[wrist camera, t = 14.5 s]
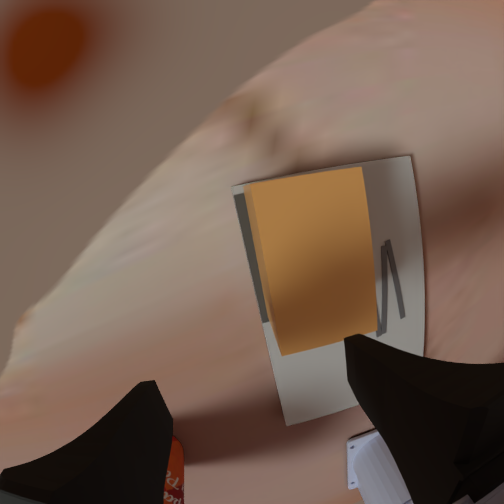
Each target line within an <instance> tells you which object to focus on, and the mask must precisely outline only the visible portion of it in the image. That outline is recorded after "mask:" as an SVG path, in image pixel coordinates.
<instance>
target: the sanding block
mask: <svg viewBox="0 0 504 504" xmlns="http://www.w3.org/2000/svg"><path fill="white" fill-rule="evenodd" d="M243 190H244V195H245V200H246V205H247V210H248V215H249V221H250V226H251V231H252V236H253V242H254V247H255V252H256V257H257V262H258V268H259V273H260V278H261V283H262V289H263V294H264V299H265V304H266V310H267V315H268V318H269V321H270V324H271V327H272V330H273V333H274V336H275V339H276V341H277V344H278V347H279V350H280V353H281V356H286V355H290V354H294V353H298V352H302V351H306V350H310V349H314V348H318V347H322V346H326V345H329V344H333V343H337V342H340V341H344V338H345V337H348V336H352V335H355V334H358V333H359V334H362V335H364V334H367V333H371V332H374V331H377V302H376V284H375V270H374V258H373V247H372V238H371V229H370V220H369V212H368V205H367V198H366V191H365V185H364V179H363V172H362V167H354V168H346V169H339V170H332V171H325V172H318V173H312V174H305V175H299V176H293V177H287V178H281V179H275V180H269V181H264V182H258V183H253V184H248V185H245V186H243Z"/></svg>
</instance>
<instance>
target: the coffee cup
mask: <svg viewBox="0 0 504 504" xmlns="http://www.w3.org/2000/svg"><path fill="white" fill-rule="evenodd" d="M164 504H184V451H183V447H182V445H181V443H180V442H179V441H178V440H177V439H176V438H175V437H174V436H173V437H172V446H171V452H170V458H169V463H168V469H167V475H166V481H165V488H164Z"/></svg>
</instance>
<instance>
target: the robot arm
mask: <svg viewBox="0 0 504 504" xmlns="http://www.w3.org/2000/svg"><path fill="white" fill-rule="evenodd" d="M344 346H345V357H346V369H347V381H348V383H349V385H350V387H351V389H352V391H353V393H354V395H355V397H356V400H357V401H358V403H359V404H360V406H361V407H362V409H363V410H364V412H365V413H366V415H367V416H368V418H369V419H370V421H371V422H372V423H373V425H374V426H375V428H376V430H373V431H371V432H368V433H365V434H363V435H360V436H357V437H354V438H351V439H349V440H348V441H347V472H348V488H349V489H354V488H357V487H358V489H359V491H360V493H361V496H362V498H363V500H364V502H365V504H504V363H495V364H466V363H454V362H446V361H441V360H436V359H430V358H426V357H422V356H419V355H415V354H412V353H409V352H406V351H403V350H400V349H397V348H395V347H392V346H389V345H387V344H384V343H382V342H379V341H377V340H375V339H372V338H370V337H367V336H365V335H362V334H359V333H358V334H355V335H352V336H348V337H345V338H344ZM172 437H173V418H172V416H171V414H170V412H169V410H168V408H167V406H166V404H165V402H164V400H163V398H162V395H161V393H160V391H159V389H158V387H157V384H156V382H155V380H152V381H144V382H140V383H139V384H137V385H136V386H135V387H134V388H133V389H132V390H131V391H130V392H129V393H128V394H127V395H126V396H125V397H124V398H123V399H122V400H121V401H120V402H118V403H117V404H116V405H115V406H114V407H113V408H112V409H111V410H110V411H109V412H108V413H107V414H106V415H105V416H104V417H102V418H101V419H100V420H99V421H98V422H97V423H96V424H95V425H93V426H92V427H91V428H90V429H88V430H87V431H86V432H84V433H83V434H82V435H80V436H79V437H77V438H76V439H74V440H73V441H71V442H70V443H68V444H66V445H64V446H63V447H61V448H59V449H57V450H56V451H54V452H52V453H50V454H48V455H45V456H43V457H41V458H38V459H36V460H33V461H31V462H28V463H25V464H21V465H18V466H14V467H10V468H6V469H4V470H3V471H2V473H1V474H0V504H164V488H165V481H166V475H167V469H168V463H169V458H170V452H171V446H172Z"/></svg>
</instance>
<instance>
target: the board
mask: <svg viewBox="0 0 504 504" xmlns="http://www.w3.org/2000/svg"><path fill="white" fill-rule="evenodd" d="M354 167H362V172H363V179H364V185H365V191H366V198H367V205H368V212H369V220H370V229H371V238H372V247H373V258H374V270H375V284H376V302H377V331H374V332H371V333H367V334H364V335H365V336H367V337H370V338H372V339H375V340H377V341H379V342H382V343H384V344H387V345H389V346H392V347H395V348H397V349H400V350H403V351H406V352H409V353H412V354H415V355H419V356H422V357H423V350H424V325H425V288H424V263H423V248H422V236H421V226H420V216H419V208H418V200H417V193H416V187H415V180H414V174H413V169H412V163H411V158H410V156H403V157H395V158H388V159H381V160H374V161H367V162H360V163H354V164H347V165H341V166H335V167H329V168H323V169H317V170H312V171H306V172H301V173H296V174H290V175H285V176H280V177H275V178H270V179H265V180H260V181H256V182H251V183H246V184H242V185H237V186H233V187H231V189H232V193H233V198H234V202H235V206H236V211H237V215H238V220H239V224H240V229H241V233H242V237H243V242H244V246H245V251H246V255H247V260H248V264H249V268H250V273H251V277H252V281H253V286H254V290H255V295H256V299H257V303H258V308H259V312H260V316H261V321H262V325H263V329H264V334H265V338H266V342H267V347H268V351H269V355H270V360H271V364H272V368H273V372H274V377H275V381H276V385H277V390H278V394H279V398H280V402H281V407H282V411H283V415H284V419H285V423H286V426H290V425H294V424H297V423H301V422H305V421H309V420H312V419H316V418H319V417H322V416H326V415H329V414H332V413H335V412H339V411H342V410H345V409H348V408H351V407H354V406H356V405H359V403H358V401H357V400H356V397H355V395H354V393H353V391H352V389H351V387H350V385H349V383H348V381H347V369H346V357H345V346H344V341H340V342H337V343H333V344H329V345H326V346H322V347H318V348H314V349H310V350H306V351H302V352H298V353H294V354H290V355H286V356H281V353H280V350H279V347H278V344H277V341H276V339H275V336H274V333H273V330H272V327H271V324H270V321H269V318H268V315H267V310H266V304H265V299H264V294H263V289H262V283H261V278H260V273H259V268H258V262H257V257H256V252H255V247H254V242H253V236H252V231H251V226H250V221H249V215H248V210H247V205H246V200H245V195H244V190H243V186H245V185H248V184H253V183H258V182H264V181H269V180H275V179H281V178H287V177H293V176H299V175H305V174H312V173H318V172H325V171H332V170H339V169H346V168H354Z"/></svg>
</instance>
